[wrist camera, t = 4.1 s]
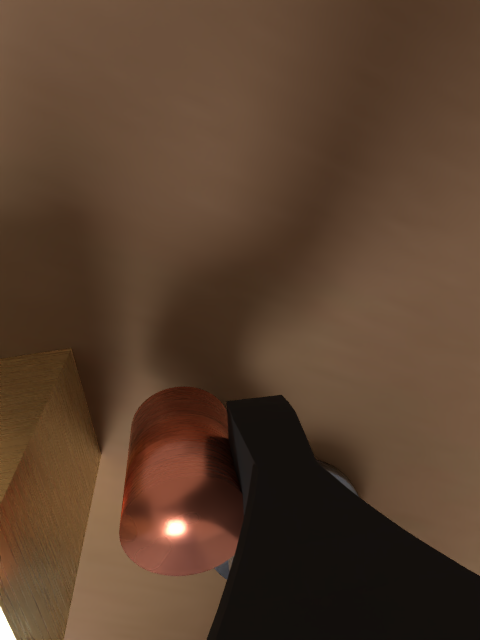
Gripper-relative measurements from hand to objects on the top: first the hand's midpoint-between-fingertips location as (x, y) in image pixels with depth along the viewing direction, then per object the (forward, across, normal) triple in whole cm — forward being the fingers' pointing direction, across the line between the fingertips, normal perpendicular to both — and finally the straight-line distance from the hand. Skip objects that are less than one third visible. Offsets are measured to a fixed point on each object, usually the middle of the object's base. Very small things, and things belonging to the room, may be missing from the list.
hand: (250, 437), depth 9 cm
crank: (+2, 0, +4) cm, 4 cm away
